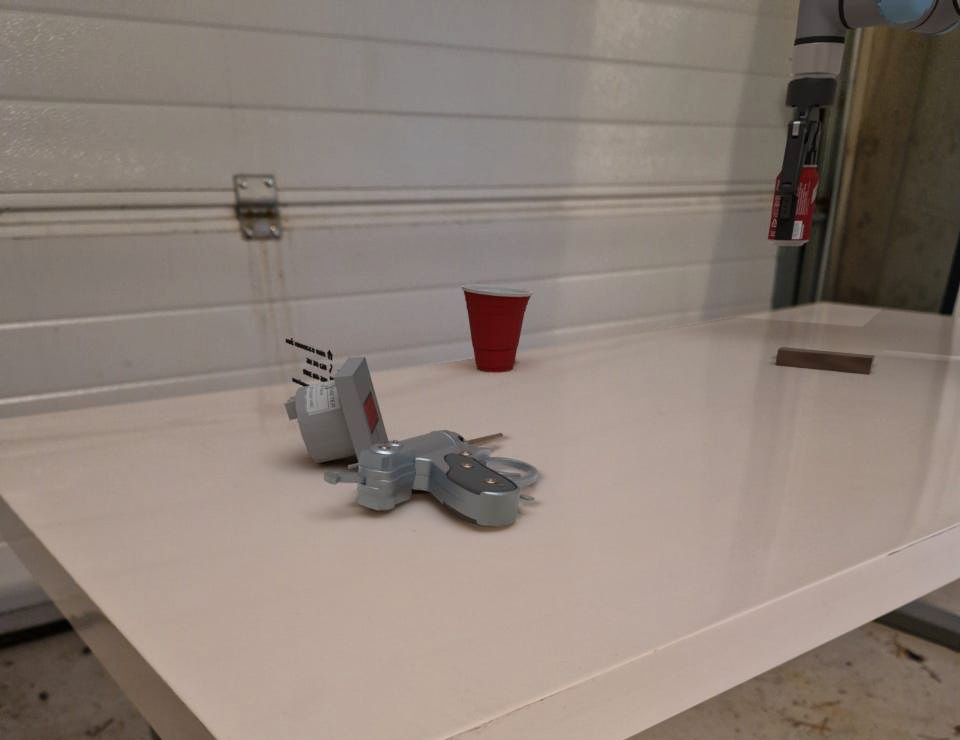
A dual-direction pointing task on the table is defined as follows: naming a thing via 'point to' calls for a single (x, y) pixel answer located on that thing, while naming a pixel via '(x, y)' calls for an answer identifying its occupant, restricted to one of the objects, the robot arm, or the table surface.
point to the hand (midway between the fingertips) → (788, 238)
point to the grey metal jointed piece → (441, 476)
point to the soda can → (804, 208)
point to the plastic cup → (495, 323)
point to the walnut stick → (825, 360)
